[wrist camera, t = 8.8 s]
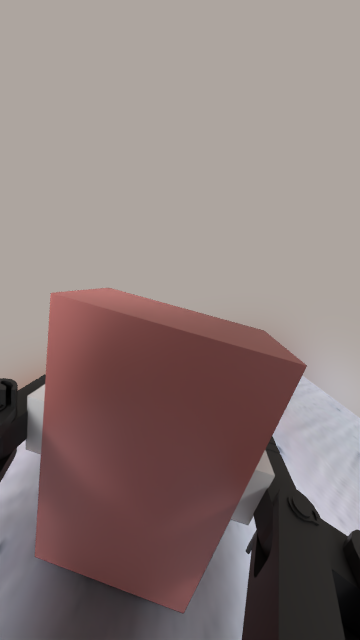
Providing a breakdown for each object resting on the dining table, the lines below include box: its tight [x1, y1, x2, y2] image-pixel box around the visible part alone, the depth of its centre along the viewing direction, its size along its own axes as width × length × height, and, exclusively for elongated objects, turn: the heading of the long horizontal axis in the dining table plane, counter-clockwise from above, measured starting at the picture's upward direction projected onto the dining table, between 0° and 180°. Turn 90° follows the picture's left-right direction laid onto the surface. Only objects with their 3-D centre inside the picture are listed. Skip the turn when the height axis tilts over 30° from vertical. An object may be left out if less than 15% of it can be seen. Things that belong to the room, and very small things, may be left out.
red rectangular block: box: [35, 288, 307, 614], centre depth 9 cm, size 8×4×14 cm, turn 82°
